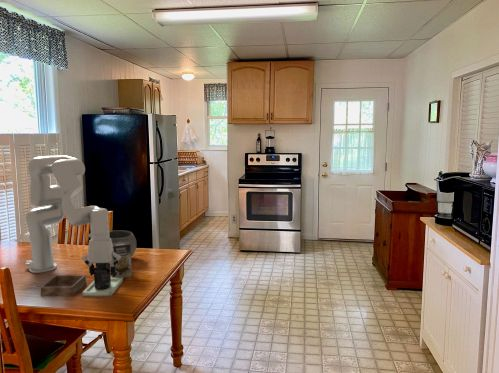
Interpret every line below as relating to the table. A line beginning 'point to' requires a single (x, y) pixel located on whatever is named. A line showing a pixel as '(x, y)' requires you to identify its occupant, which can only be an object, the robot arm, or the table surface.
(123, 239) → the bowl
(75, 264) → the table surface
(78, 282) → the holder
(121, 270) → the coffee box
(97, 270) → the supplement bottle
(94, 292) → the tray
